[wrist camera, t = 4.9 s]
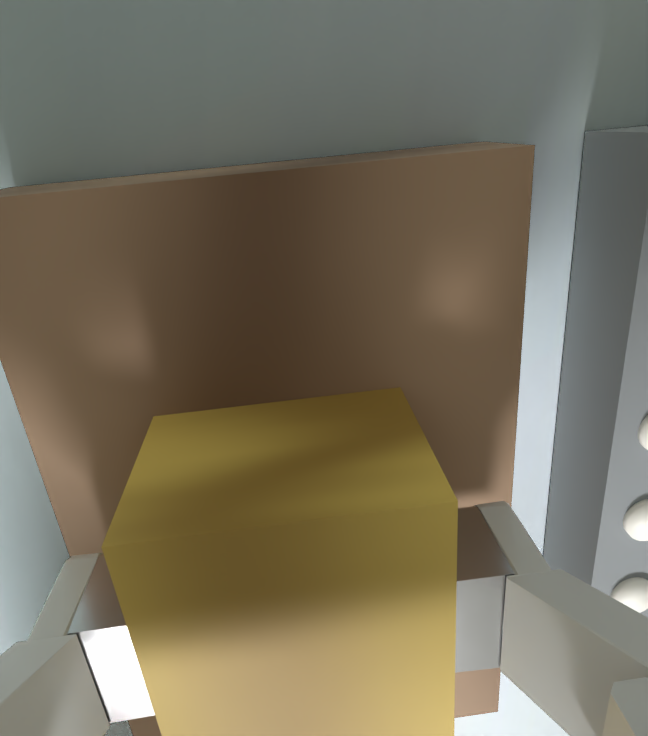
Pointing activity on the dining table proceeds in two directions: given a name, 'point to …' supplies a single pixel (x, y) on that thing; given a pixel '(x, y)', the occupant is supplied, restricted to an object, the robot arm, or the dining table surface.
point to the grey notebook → (605, 379)
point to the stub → (278, 420)
